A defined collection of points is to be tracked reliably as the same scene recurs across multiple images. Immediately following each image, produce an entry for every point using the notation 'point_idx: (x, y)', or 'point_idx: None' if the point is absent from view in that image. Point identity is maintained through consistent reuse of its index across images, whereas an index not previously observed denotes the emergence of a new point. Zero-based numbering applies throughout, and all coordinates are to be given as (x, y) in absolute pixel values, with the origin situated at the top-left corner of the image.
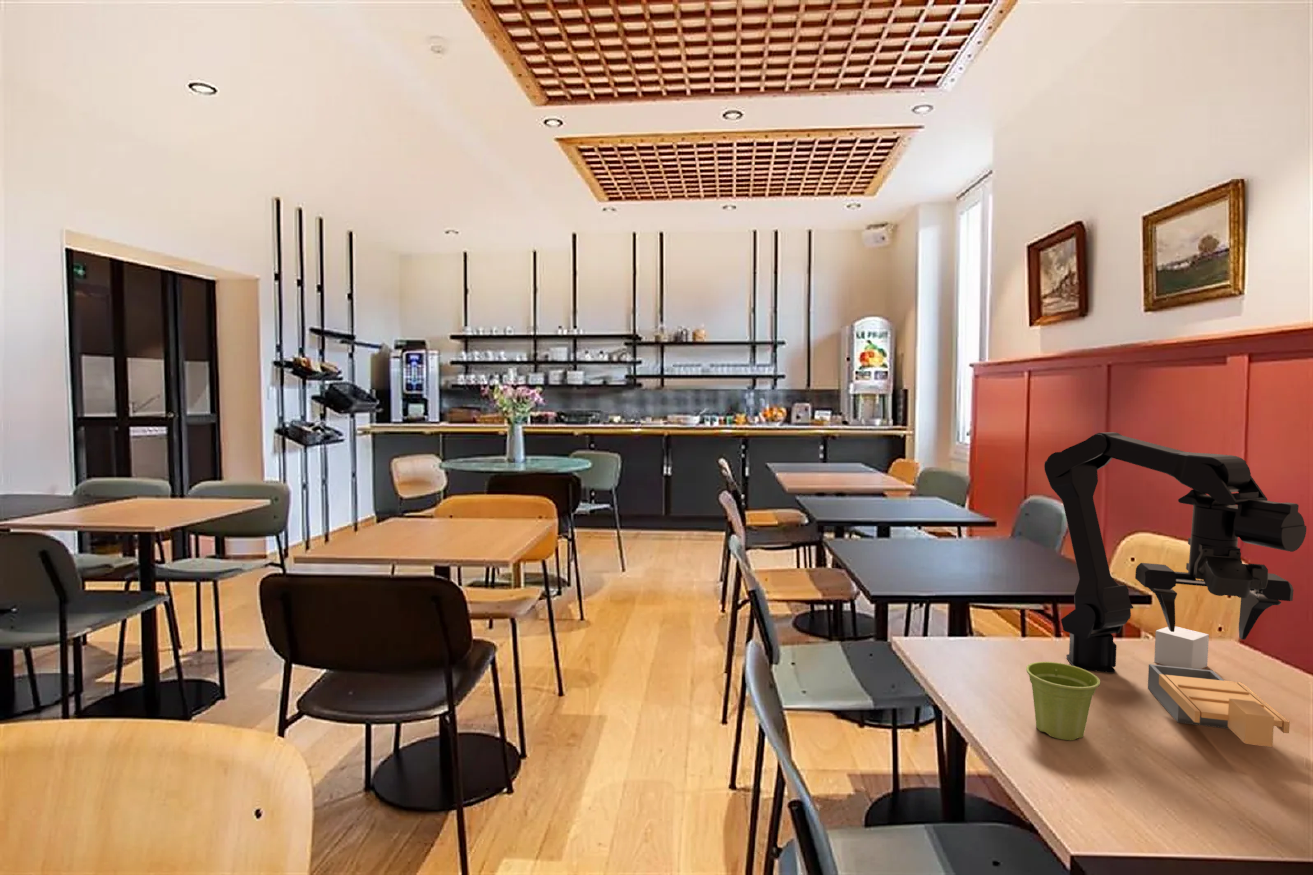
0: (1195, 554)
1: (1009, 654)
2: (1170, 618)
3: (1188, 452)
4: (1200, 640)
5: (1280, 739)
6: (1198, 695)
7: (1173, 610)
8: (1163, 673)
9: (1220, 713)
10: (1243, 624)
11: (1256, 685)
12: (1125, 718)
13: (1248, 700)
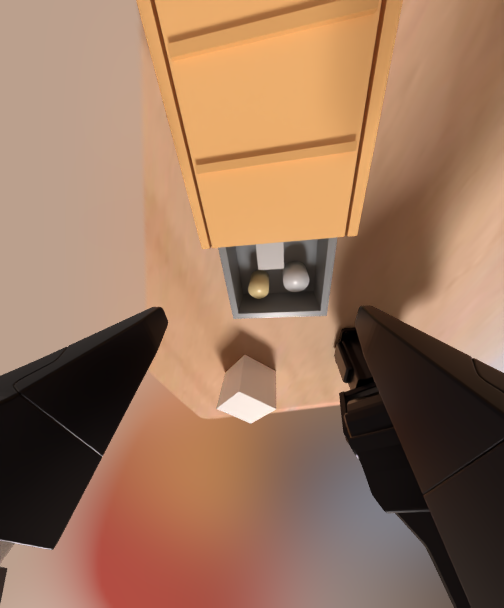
0: None
1: (468, 353)
2: (420, 333)
3: None
4: (228, 396)
5: (173, 141)
6: (330, 68)
7: (451, 368)
8: (303, 304)
9: None
10: (131, 345)
11: (186, 340)
12: (443, 111)
13: (202, 101)
